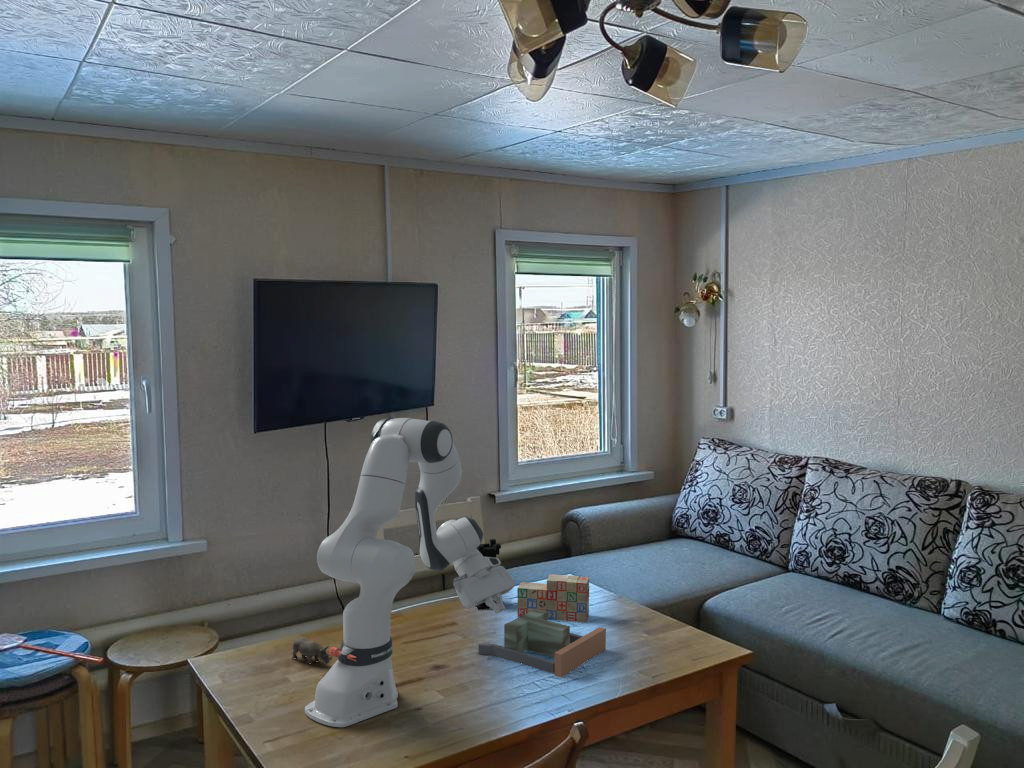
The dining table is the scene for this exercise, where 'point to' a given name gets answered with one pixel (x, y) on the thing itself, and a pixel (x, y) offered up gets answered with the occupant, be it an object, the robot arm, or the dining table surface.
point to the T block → (536, 634)
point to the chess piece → (488, 551)
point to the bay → (556, 653)
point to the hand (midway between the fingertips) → (501, 611)
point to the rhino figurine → (310, 650)
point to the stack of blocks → (556, 598)
